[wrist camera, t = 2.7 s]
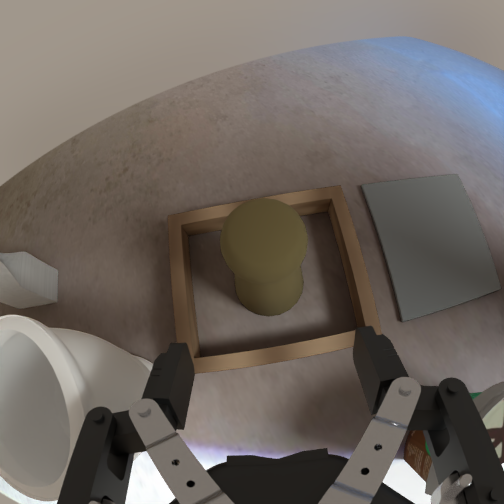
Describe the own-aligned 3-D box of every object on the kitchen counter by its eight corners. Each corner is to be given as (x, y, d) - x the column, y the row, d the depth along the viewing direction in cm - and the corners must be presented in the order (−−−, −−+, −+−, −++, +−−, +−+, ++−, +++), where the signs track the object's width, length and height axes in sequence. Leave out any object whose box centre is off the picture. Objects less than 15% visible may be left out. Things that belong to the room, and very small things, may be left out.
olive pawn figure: (311, 261, 27) (329, 197, 17) (291, 325, 26) (299, 297, 15) (248, 241, 29) (230, 171, 18) (224, 303, 27) (190, 261, 16)
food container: (490, 365, 22) (558, 355, 12) (493, 421, 20) (559, 427, 10) (384, 402, 22) (438, 417, 13) (388, 464, 20) (437, 502, 11)
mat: (456, 175, 29) (457, 174, 29) (499, 289, 24) (501, 288, 24) (360, 186, 30) (361, 184, 29) (401, 322, 25) (403, 321, 24)
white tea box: (57, 302, 28) (-8, 274, 19) (19, 309, 28) (-42, 285, 19) (58, 270, 29) (-2, 234, 20) (20, 279, 30) (-37, 250, 20)
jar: (129, 469, 22) (22, 520, 8) (69, 383, 25) (-50, 373, 11) (209, 411, 23) (130, 456, 9) (139, 321, 27) (26, 272, 13)
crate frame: (336, 199, 29) (340, 185, 27) (373, 341, 24) (382, 338, 22) (175, 227, 30) (167, 215, 27) (189, 374, 25) (180, 374, 22)
